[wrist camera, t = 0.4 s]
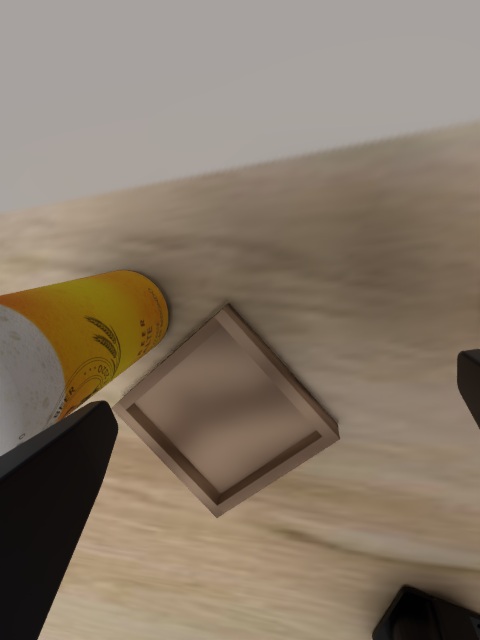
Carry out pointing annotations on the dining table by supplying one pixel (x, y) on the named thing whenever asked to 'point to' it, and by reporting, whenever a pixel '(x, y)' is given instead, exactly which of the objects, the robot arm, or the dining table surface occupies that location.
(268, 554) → the dining table surface
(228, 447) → the tray
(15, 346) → the beer can
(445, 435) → the dining table surface
